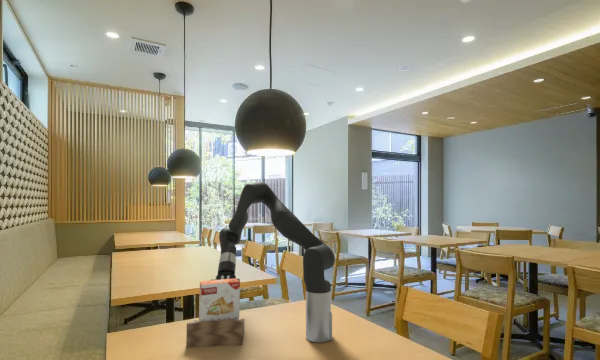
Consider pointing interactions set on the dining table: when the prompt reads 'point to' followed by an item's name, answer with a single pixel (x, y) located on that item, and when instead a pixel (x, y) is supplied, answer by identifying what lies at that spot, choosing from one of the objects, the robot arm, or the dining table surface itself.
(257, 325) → the dining table surface
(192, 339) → the walnut rack
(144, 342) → the dining table surface
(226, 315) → the cracker box
